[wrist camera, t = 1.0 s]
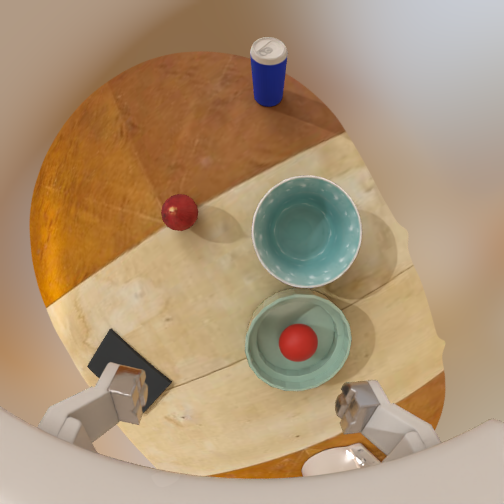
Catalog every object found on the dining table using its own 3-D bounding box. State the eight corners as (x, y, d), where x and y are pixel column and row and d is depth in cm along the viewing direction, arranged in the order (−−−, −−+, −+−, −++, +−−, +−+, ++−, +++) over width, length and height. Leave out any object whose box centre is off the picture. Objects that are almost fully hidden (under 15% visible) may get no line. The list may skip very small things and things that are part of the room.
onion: (174, 234, 46) (156, 234, 38) (167, 202, 46) (149, 197, 38) (205, 226, 46) (193, 224, 38) (198, 193, 46) (185, 185, 38)
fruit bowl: (360, 326, 46) (371, 336, 40) (298, 390, 47) (301, 406, 41) (291, 267, 46) (295, 271, 40) (227, 340, 47) (223, 352, 41)
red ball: (321, 332, 45) (329, 346, 39) (297, 358, 46) (301, 375, 39) (294, 311, 45) (299, 322, 39) (270, 338, 46) (270, 353, 39)
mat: (171, 381, 48) (170, 383, 47) (142, 412, 49) (141, 414, 48) (111, 328, 48) (109, 329, 47) (88, 365, 49) (87, 366, 48)
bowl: (268, 290, 46) (269, 301, 38) (242, 200, 45) (237, 192, 37) (355, 264, 45) (373, 269, 37) (330, 176, 44) (343, 164, 36)
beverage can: (268, 81, 44) (269, 31, 29) (288, 97, 44) (295, 49, 29) (248, 96, 44) (241, 47, 29) (267, 113, 44) (268, 66, 29)
